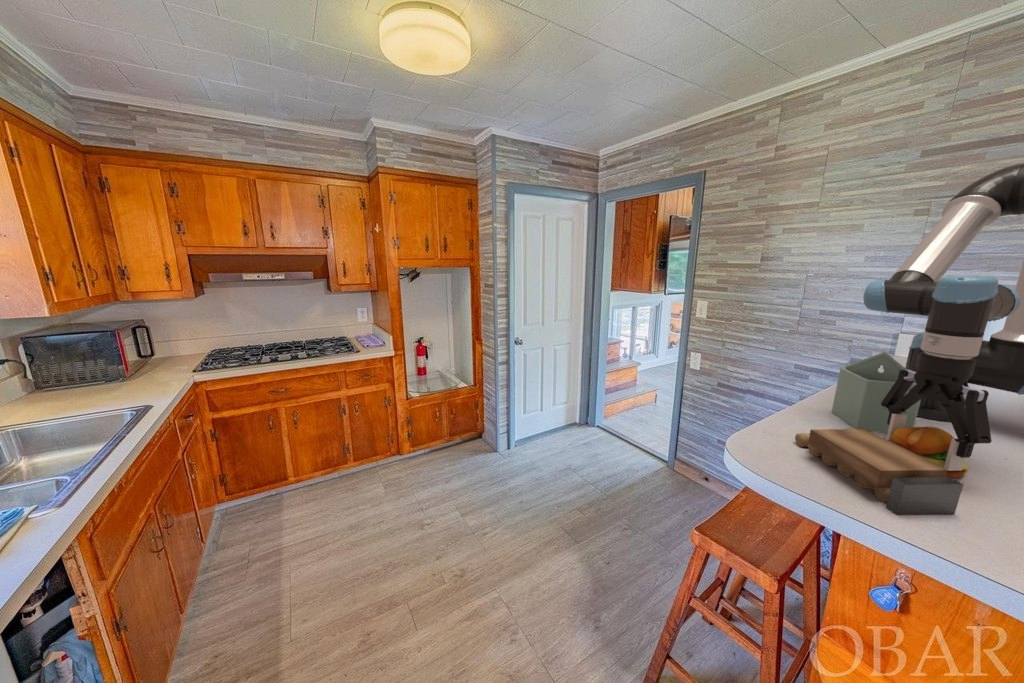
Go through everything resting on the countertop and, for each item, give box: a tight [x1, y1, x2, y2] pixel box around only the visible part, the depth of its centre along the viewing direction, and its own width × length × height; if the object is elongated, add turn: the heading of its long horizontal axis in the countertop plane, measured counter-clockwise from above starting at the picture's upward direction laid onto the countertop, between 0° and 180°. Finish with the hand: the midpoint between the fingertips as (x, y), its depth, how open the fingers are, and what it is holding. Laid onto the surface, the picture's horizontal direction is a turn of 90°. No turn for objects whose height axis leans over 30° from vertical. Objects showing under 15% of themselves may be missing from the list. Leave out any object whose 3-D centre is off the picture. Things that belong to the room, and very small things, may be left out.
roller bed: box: [794, 432, 890, 503], centre depth 77 cm, size 8×23×3 cm, turn 0°
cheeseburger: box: [891, 426, 969, 478], centre depth 77 cm, size 10×11×10 cm
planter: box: [831, 351, 921, 434], centre depth 95 cm, size 16×8×20 cm, turn 29°
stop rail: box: [885, 477, 964, 516], centre depth 64 cm, size 10×2×6 cm, turn 90°
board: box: [808, 428, 948, 488], centre depth 74 cm, size 12×16×4 cm
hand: (920, 454), depth 78 cm, fingers closed on cheeseburger, 11 cm apart
